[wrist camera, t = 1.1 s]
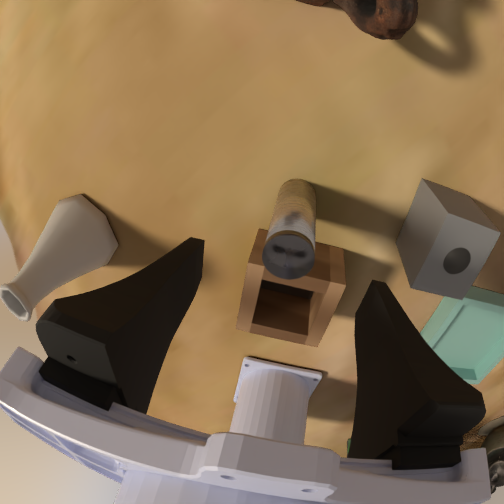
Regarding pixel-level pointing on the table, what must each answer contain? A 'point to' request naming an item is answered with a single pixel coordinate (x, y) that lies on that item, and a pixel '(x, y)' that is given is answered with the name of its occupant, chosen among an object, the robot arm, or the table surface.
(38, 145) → the table surface
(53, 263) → the flask
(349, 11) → the pottery mug
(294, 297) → the walnut block
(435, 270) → the gray block
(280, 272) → the cylinder
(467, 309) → the teal tray
